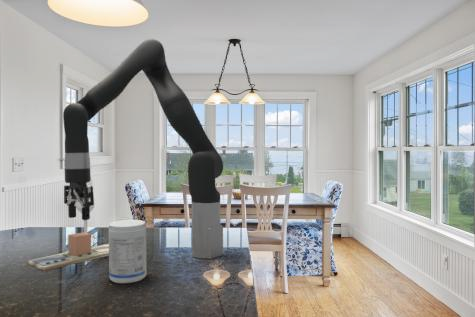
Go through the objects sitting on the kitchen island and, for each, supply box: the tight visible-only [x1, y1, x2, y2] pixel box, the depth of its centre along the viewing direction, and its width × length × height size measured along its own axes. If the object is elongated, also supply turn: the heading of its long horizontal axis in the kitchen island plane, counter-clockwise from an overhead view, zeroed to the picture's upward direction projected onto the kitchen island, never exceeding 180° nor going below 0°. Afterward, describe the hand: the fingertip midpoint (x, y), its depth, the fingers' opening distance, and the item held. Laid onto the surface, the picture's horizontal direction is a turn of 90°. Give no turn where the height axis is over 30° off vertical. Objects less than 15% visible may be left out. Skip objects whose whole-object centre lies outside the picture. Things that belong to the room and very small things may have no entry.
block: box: [67, 231, 92, 256], centre depth 121 cm, size 5×5×6 cm
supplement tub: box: [108, 219, 147, 284], centre depth 100 cm, size 10×10×15 cm
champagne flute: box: [75, 176, 96, 242], centre depth 144 cm, size 7×7×24 cm
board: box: [26, 243, 109, 272], centre depth 121 cm, size 12×27×1 cm, turn 139°
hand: (78, 218), depth 120 cm, fingers open, 8 cm apart
